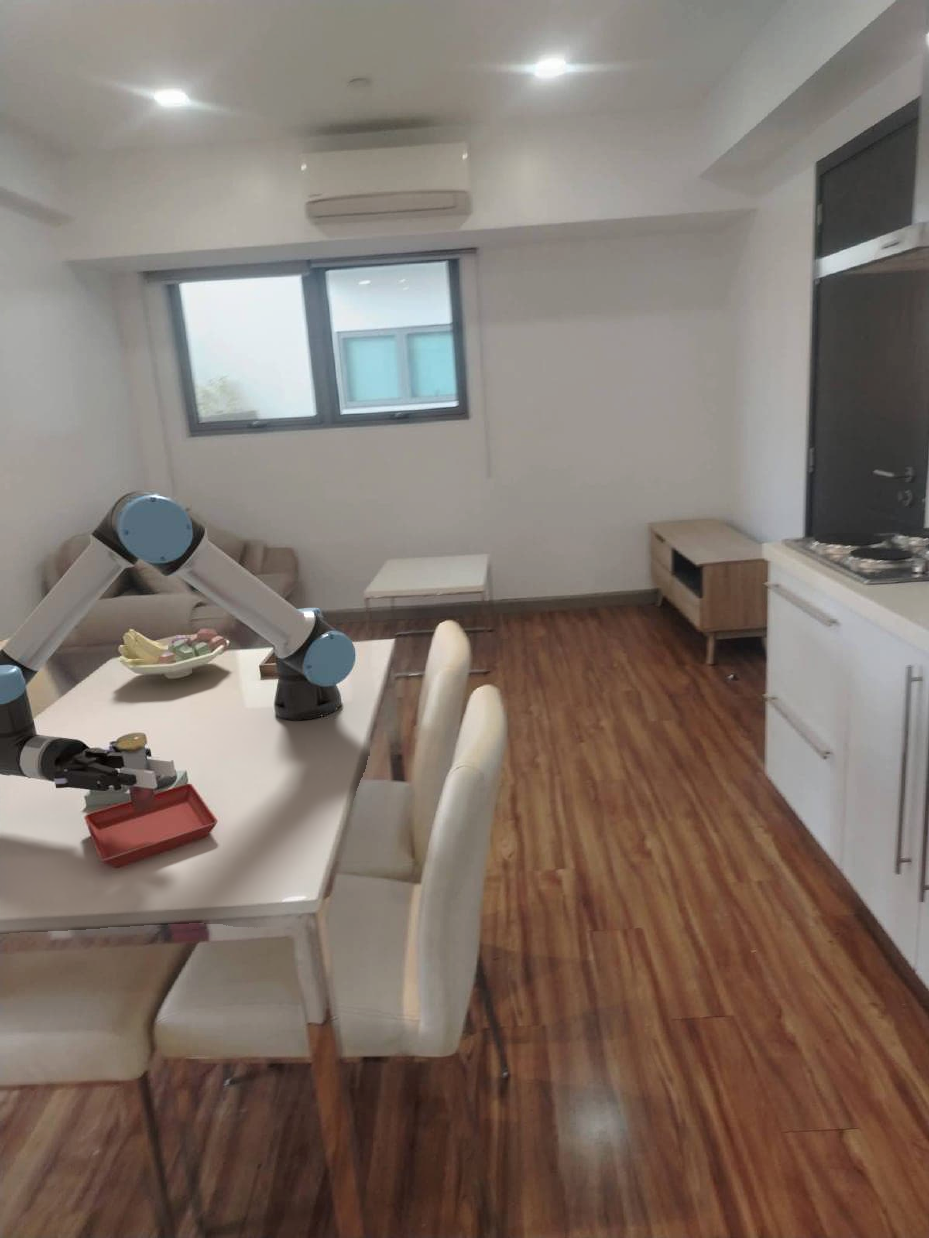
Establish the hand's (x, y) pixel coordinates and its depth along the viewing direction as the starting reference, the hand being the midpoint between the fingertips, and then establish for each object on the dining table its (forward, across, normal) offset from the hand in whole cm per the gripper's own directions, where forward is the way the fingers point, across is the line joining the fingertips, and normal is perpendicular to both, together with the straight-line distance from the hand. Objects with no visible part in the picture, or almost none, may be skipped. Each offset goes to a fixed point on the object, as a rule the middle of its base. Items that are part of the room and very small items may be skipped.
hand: (163, 774), depth 128 cm
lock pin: (-5, 0, -6) cm, 8 cm away
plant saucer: (-5, 0, -12) cm, 13 cm away
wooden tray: (-30, -82, -11) cm, 88 cm away
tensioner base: (-19, -11, -12) cm, 25 cm away
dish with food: (-59, -68, -12) cm, 91 cm away
